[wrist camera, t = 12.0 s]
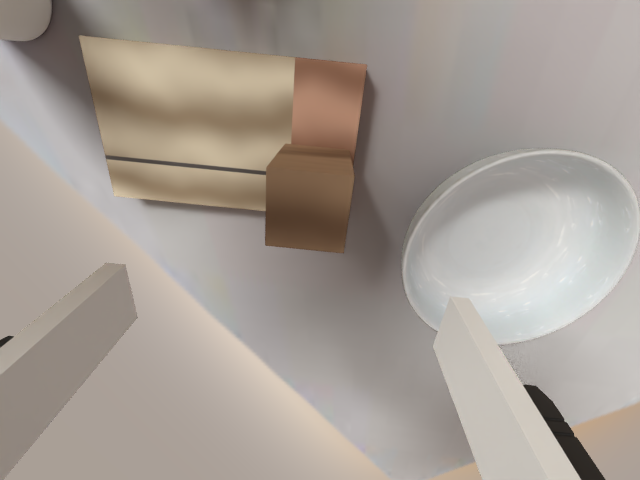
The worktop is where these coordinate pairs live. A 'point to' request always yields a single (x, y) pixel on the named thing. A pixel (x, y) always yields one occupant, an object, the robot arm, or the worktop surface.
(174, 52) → the maple board
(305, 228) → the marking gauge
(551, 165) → the serving bowl
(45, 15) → the milk bottle
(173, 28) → the worktop surface
